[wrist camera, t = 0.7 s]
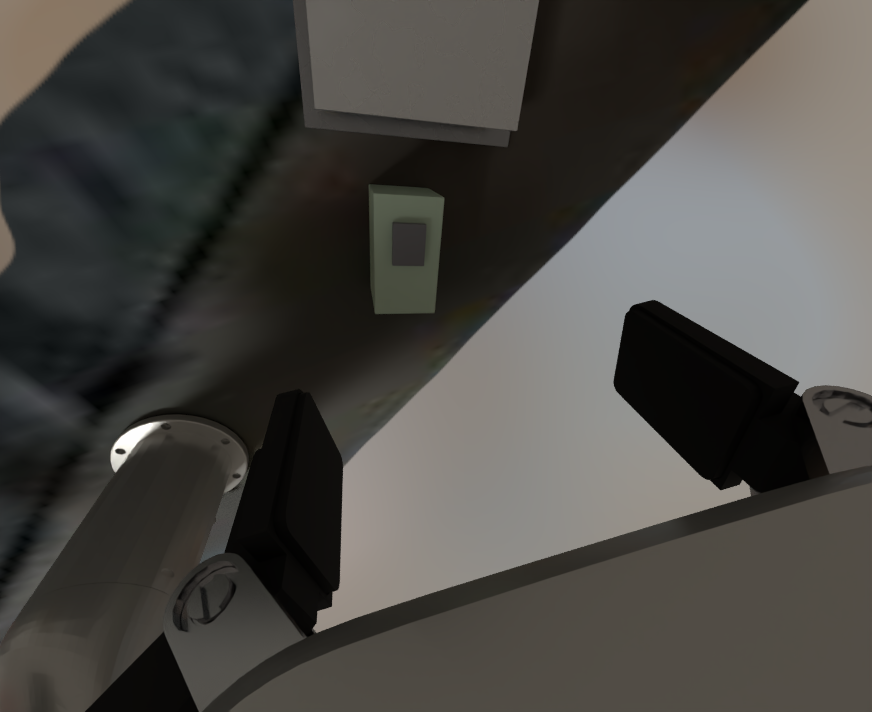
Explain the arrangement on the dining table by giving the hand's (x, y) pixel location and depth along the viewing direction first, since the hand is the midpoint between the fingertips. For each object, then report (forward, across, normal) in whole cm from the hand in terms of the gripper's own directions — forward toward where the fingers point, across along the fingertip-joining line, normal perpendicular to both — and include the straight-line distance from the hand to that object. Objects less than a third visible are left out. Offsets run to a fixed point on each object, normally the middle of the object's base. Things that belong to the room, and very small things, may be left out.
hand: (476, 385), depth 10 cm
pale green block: (+24, 0, +2) cm, 25 cm away
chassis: (+25, -4, -12) cm, 28 cm away
